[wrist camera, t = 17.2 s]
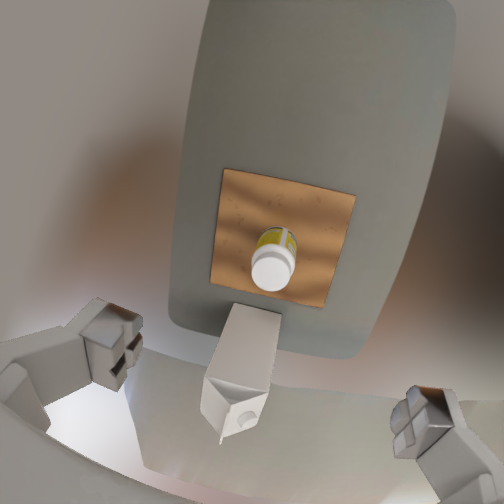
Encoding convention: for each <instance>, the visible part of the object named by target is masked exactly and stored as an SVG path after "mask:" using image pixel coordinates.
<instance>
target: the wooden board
mask: <svg viewBox="0 0 504 504" xmlns="http://www.w3.org/2000/svg"><path fill="white" fill-rule="evenodd" d="M355 198H356V196H355V195H351V194H347V193H343V192H339V191H334V190H330V189H326V188H322V187H317V186H313V185H308V184H304V183H299V182H295V181H290V180H285V179H280V178H275V177H270V176H265V175H260V174H255V173H250V172H244V171H239V170H233V169H227V168H225V169H224V174H223V181H222V188H221V196H220V203H219V211H218V219H217V227H216V235H215V243H214V252H213V261H212V270H211V279H210V283H213V284H217V285H221V286H225V287H230V288H234V289H238V290H242V291H247V292H251V293H256V294H260V295H264V296H269V297H273V298H278V299H282V300H287V301H292V302H296V303H301V304H306V305H310V306H315V307H320V308H323V306H324V303H325V300H326V297H327V294H328V291H329V288H330V284H331V281H332V278H333V275H334V272H335V269H336V265H337V262H338V259H339V256H340V252H341V249H342V245H343V242H344V239H345V235H346V232H347V228H348V224H349V221H350V217H351V214H352V210H353V206H354V202H355ZM273 226H281V227H284V228H287V229H288V230H290V231H291V232H292V233H293V234H294V236H295V238H296V242H297V248H296V261H295V269H294V272H293V274H292V275H291V277H290V280H289V282H288V284H287V285H286V286H285V287H284V288H282V289H281V290H278V291H266V290H263V289H261V288H259V287H258V286H257V285H256V284H255V282H254V281H253V279H252V264H251V262H252V256H253V254H254V251H255V249H256V246H257V243H258V241H259V238H260V236H261V234H262V233H263V232H264V231H265V230H266V229H267V228H269V227H273Z"/></svg>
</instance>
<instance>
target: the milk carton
mask: <svg viewBox="0 0 504 504" xmlns="http://www.w3.org/2000/svg"><path fill="white" fill-rule="evenodd" d="M281 317H282V314H278V313H274V312H270V311H266V310H262V309H258V308H254V307H250V306H246V305H242V304H238V303H234V304H233V306H232V309H231V311H230V314H229V316H228V319H227V321H226V324H225V326H224V329H223V331H222V334H221V336H220V339H219V341H218V344H217V346H216V349H215V351H214V354H213V356H212V358H211V361H210V363H209V366H208V368H207V371H206V373H205V376H204V382H203V389H202V397H201V405H200V412H201V413H202V414H203V415H204V417H205V418H206V419H207V420H208V422H209V423H210V424H211V425H212V427H213V428H214V429H215V430H216V431H217V433H218V434H219V435H220V436H221V439H220V443H219V444H220V445H221V443H222V439H223V437H226V436H229V435H232V434H235V433H237V432H240V431H243V430H246V429H248V428H251V427H253V426H255V425H256V424H257V422H258V419H259V416H260V414H261V411H262V409H263V406H264V404H265V401H266V398H267V396H268V393H269V388H270V383H271V377H272V371H273V366H274V360H275V354H276V348H277V342H278V336H279V330H280V324H281Z"/></svg>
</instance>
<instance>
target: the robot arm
mask: <svg viewBox="0 0 504 504" xmlns="http://www.w3.org/2000/svg"><path fill="white" fill-rule="evenodd" d="M142 327H143V318H142V316H141V315H139V314H137V313H134V312H131V311H129V310H126V309H124V308H121V307H119V306H117V305H115V304H112V303H109V302H107V301H104V300H102V299H100V298H98V297H97V298H94V299H92V300H91V301H90V302H89V303H88V304H87V305H86V306H85V307H84V308H83V309H82V310H81V311H80V312H79V313H78V314H77V315H76V316H75V317H74V318H73V319H72V320H71V321H70V322H69V323H68V324H67V325H66V326H65V327H64V328H63V327H62V326H58V327H54V328H51V329H47V330H44V331H40V332H36V333H33V334H29V335H26V336H22V337H19V338H15V339H11V340H8V341H4V342H1V343H0V504H202V503H199V502H195V501H192V500H188V499H186V498H182V497H179V496H176V495H173V494H170V493H168V492H165V491H162V490H159V489H156V488H154V487H151V486H149V485H146V484H143V483H141V482H139V481H136V480H134V479H131V478H129V477H127V476H124V475H122V474H120V473H118V472H116V471H113V470H111V469H109V468H107V467H105V466H103V465H101V464H99V463H97V462H95V461H93V460H91V459H89V458H87V457H85V456H84V455H82V454H80V453H78V452H76V451H75V450H73V449H71V448H69V447H68V446H66V445H64V444H62V443H61V442H59V441H57V440H56V439H54V438H52V437H51V436H49V435H48V434H46V433H45V432H46V431H47V429H48V428H49V426H50V425H51V423H50V419H49V417H48V415H47V413H46V411H45V410H44V406H46V405H48V404H50V403H52V402H54V401H56V400H58V399H60V398H63V397H64V396H67V395H69V394H71V393H73V392H74V391H77V390H79V389H80V388H83V387H85V386H86V385H89V384H91V383H92V381H93V382H95V383H97V384H99V385H102V386H104V387H106V388H108V389H111V390H113V391H115V392H118V390H119V389H120V387H121V386H122V384H123V383H124V381H125V379H126V378H127V369H128V368H131V367H133V366H134V365H135V364H136V362H137V360H138V358H139V356H140V353H141V350H142V345H143V337H142V336H141V334H140V332H139V331H140V329H141V328H142ZM390 427H391V430H392V432H393V433H394V434H395V435H396V436H395V438H394V439H393V441H392V442H393V449H394V457H395V458H398V459H417V460H416V462H417V463H418V465H419V467H420V468H421V470H422V471H423V473H424V475H425V476H426V478H427V479H428V481H429V483H430V484H431V486H432V487H433V489H434V491H435V492H436V494H437V496H438V497H439V499H440V500H441V502H439V503H438V504H504V464H503V462H502V461H501V460H500V459H499V458H498V457H497V456H496V455H495V454H494V453H493V452H492V450H491V449H490V448H489V447H488V446H487V445H486V444H485V443H484V442H483V441H482V440H481V439H480V438H479V437H478V435H477V434H476V433H475V432H474V431H473V430H472V429H471V428H467V426H466V423H465V420H464V417H463V414H462V411H461V408H460V405H459V402H458V399H457V396H456V394H455V392H454V391H453V390H452V389H443V388H433V387H425V386H417V385H414V386H412V387H411V388H410V389H409V390H408V391H407V393H406V399H404V400H402V401H400V402H398V404H397V405H396V406H395V408H394V409H393V412H392V414H391V419H390Z"/></svg>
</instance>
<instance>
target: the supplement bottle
mask: <svg viewBox="0 0 504 504" xmlns="http://www.w3.org/2000/svg"><path fill="white" fill-rule="evenodd" d="M296 248H297V242H296V238H295V236H294V234H293V233H292V232H291V231H290V230H288V229H287V228H284V227H281V226H273V227H269V228H267V229H266V230H265V231H264V232H263V233H262V234H261V236H260V238H259V241H258V243H257V246H256V249H255V251H254V254H253V256H252V262H251V264H252V279H253V281H254V282H255V284H256V285H257V286H258V287H259V288H261V289H263V290H266V291H278V290H281V289H282V288H284V287H285V286H286V285H287V284H288V282H289V280H290V277H291V275H292V274H293V272H294V269H295V261H296Z"/></svg>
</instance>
